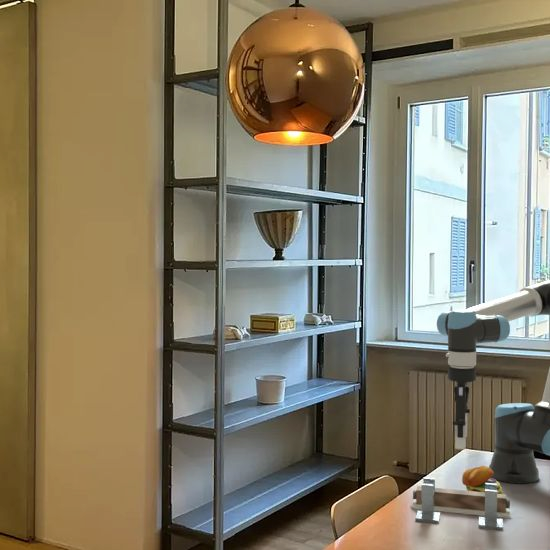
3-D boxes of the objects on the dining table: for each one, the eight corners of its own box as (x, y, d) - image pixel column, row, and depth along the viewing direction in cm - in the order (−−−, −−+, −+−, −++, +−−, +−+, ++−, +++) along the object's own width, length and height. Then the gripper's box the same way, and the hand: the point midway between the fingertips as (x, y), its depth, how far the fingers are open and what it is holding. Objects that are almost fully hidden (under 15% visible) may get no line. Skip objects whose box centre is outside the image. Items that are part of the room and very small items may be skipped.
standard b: (502, 521, 192) (503, 484, 192) (502, 530, 186) (503, 492, 185) (479, 519, 194) (479, 482, 193) (478, 528, 187) (478, 489, 187)
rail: (509, 509, 200) (509, 494, 199) (509, 513, 196) (510, 498, 196) (413, 499, 207) (414, 485, 207) (412, 503, 204) (412, 489, 204)
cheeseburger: (506, 503, 205) (498, 469, 205) (468, 510, 207) (460, 476, 207) (502, 491, 215) (494, 458, 215) (466, 497, 217) (458, 465, 217)
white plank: (509, 509, 201) (509, 507, 201) (510, 518, 194) (510, 516, 194) (414, 500, 209) (414, 497, 209) (411, 508, 202) (411, 506, 202)
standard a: (440, 515, 197) (440, 478, 196) (438, 523, 190) (438, 486, 190) (417, 512, 198) (418, 476, 198) (415, 521, 192) (415, 484, 192)
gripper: (450, 358, 213) (449, 430, 214) (445, 372, 189) (444, 453, 190) (476, 360, 211) (476, 432, 212) (474, 374, 187) (474, 455, 188)
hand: (461, 442), depth 201 cm, fingers open, 13 cm apart
